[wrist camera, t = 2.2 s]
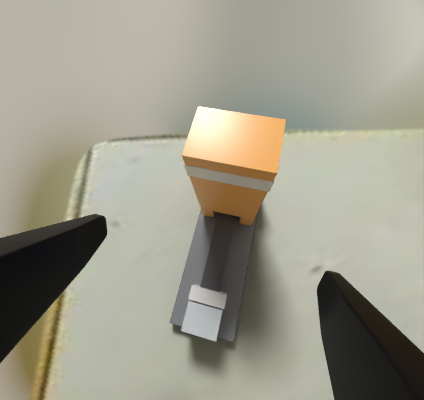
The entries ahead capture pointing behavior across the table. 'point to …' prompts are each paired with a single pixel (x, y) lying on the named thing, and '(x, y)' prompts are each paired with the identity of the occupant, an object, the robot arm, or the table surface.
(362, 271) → the table surface
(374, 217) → the table surface
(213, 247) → the grey pronged base
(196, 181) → the orange block
